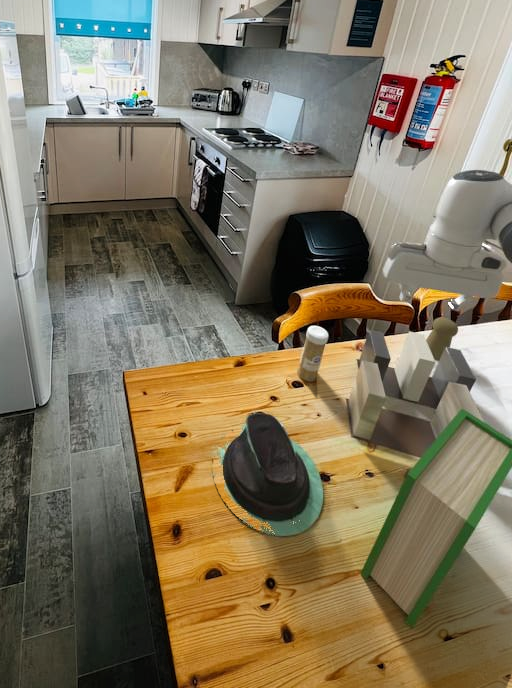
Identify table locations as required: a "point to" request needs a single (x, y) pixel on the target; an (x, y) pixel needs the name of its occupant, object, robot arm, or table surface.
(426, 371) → the upright white block
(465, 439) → the hardback book
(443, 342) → the cork
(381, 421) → the light brown wooden rack
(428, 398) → the grey rack
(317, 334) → the sprinkles bottle
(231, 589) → the table surface
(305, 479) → the black and teal hat
